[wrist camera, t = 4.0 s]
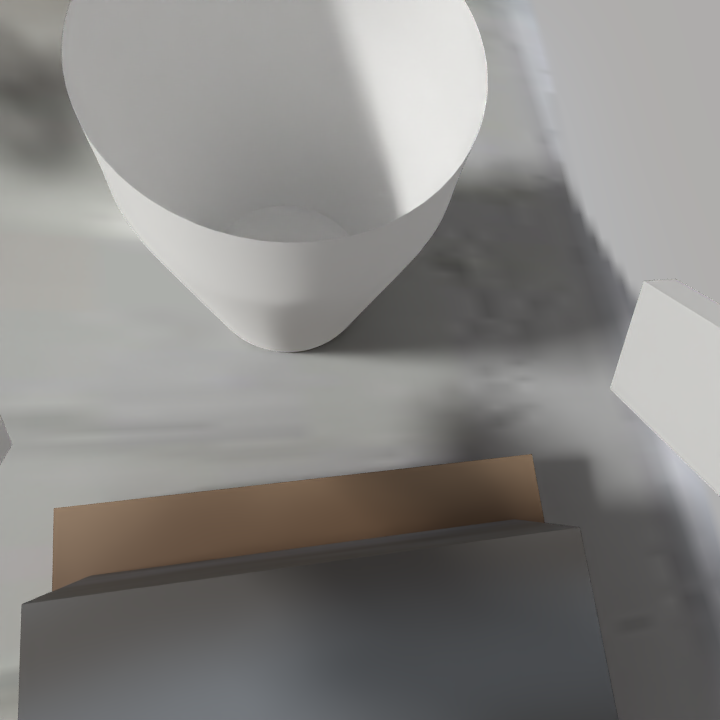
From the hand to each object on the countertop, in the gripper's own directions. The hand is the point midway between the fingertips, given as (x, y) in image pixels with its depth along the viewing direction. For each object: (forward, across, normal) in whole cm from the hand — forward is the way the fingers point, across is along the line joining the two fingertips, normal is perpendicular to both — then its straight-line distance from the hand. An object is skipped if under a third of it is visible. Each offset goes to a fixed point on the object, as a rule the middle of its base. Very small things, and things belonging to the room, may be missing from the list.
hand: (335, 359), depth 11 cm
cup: (+12, 0, -3) cm, 13 cm away
